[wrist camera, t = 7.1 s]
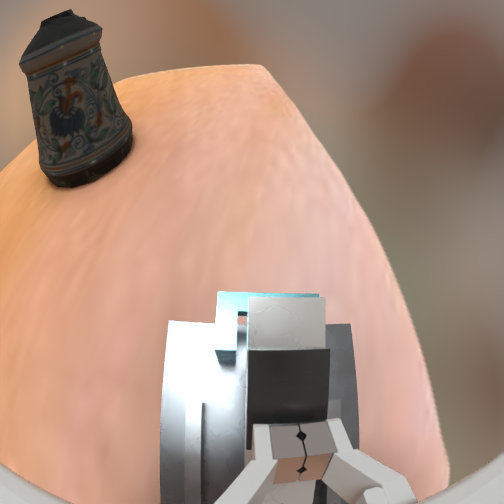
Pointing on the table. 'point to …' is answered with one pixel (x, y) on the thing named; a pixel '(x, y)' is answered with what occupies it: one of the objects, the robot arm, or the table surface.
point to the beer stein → (74, 102)
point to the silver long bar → (286, 374)
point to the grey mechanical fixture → (229, 402)
